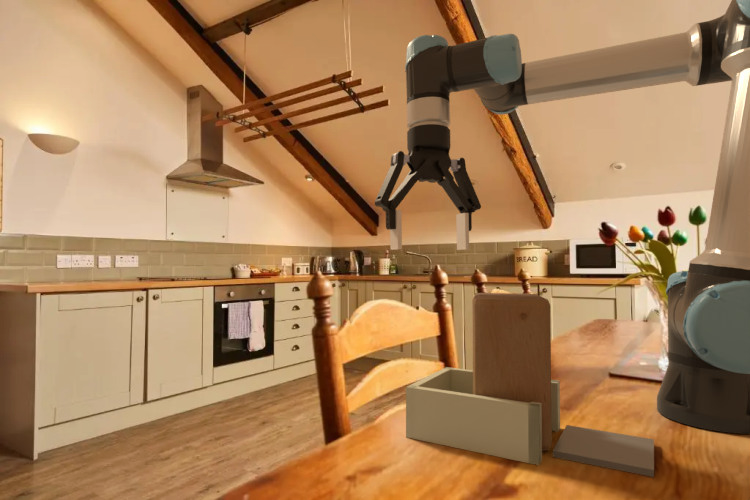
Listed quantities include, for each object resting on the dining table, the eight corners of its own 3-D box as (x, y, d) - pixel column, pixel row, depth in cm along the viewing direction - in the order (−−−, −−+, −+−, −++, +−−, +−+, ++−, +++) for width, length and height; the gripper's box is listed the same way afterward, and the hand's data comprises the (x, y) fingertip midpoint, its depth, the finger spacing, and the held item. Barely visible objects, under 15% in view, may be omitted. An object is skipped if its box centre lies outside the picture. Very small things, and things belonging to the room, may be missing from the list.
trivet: (654, 445, 63) (653, 439, 63) (653, 477, 54) (653, 470, 54) (566, 430, 69) (566, 424, 69) (552, 456, 59) (552, 450, 59)
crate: (560, 428, 70) (559, 380, 70) (538, 465, 57) (538, 406, 57) (446, 408, 79) (446, 367, 79) (406, 437, 66) (406, 386, 66)
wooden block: (553, 454, 60) (551, 298, 61) (473, 448, 62) (472, 296, 63) (541, 427, 70) (540, 293, 71) (473, 423, 72) (472, 292, 73)
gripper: (473, 141, 91) (475, 250, 90) (354, 126, 80) (356, 250, 80) (498, 130, 84) (501, 248, 84) (373, 113, 74) (375, 248, 73)
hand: (430, 249), depth 82 cm, fingers open, 13 cm apart
